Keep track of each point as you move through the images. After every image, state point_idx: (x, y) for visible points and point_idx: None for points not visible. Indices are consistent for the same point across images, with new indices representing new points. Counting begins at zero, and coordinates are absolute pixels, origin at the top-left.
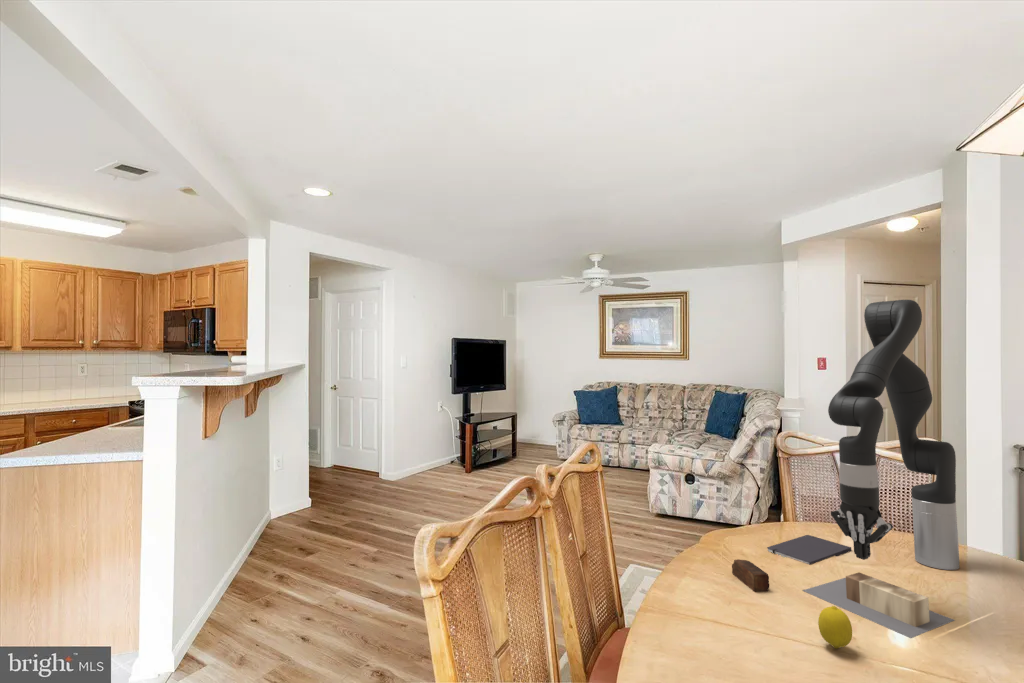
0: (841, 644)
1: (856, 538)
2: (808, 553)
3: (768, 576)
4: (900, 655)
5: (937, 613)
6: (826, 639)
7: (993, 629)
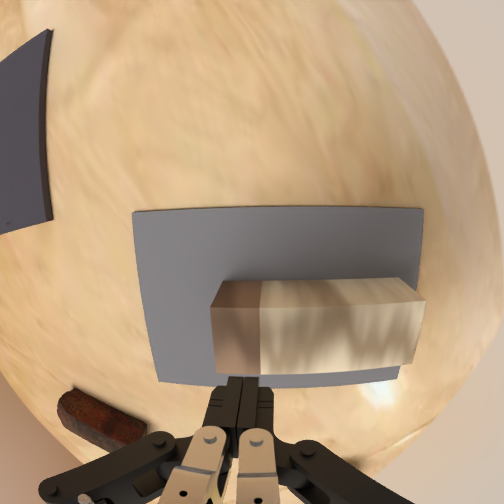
0: None
1: (228, 474)
2: (17, 168)
3: None
4: (396, 423)
5: (390, 209)
6: None
7: (465, 171)
